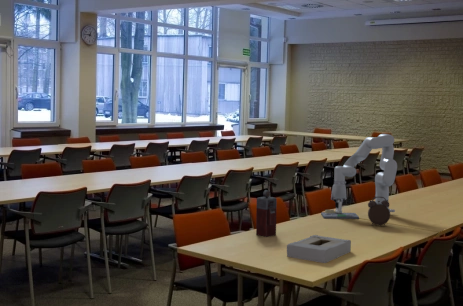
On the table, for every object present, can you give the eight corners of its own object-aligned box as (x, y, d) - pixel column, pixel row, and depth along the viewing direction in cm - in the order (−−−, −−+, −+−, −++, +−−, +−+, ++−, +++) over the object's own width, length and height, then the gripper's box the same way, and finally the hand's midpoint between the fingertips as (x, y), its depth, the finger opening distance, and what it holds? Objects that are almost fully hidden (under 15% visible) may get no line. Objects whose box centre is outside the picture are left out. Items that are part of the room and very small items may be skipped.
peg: (340, 212, 458) (340, 200, 457) (343, 213, 452) (343, 201, 451) (323, 212, 455) (324, 201, 454) (326, 214, 449) (327, 202, 448)
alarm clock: (388, 225, 419) (389, 196, 418) (390, 227, 412) (391, 197, 410) (366, 224, 421) (367, 195, 419) (368, 226, 413) (368, 197, 412)
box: (313, 246, 356) (286, 257, 330) (314, 233, 356) (286, 243, 330) (351, 253, 343) (325, 264, 317) (351, 239, 343) (326, 249, 316)
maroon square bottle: (269, 237, 377) (269, 192, 375) (255, 234, 385) (256, 190, 383) (278, 235, 383) (279, 190, 381) (265, 232, 391) (266, 188, 389)
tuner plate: (354, 214, 457) (355, 211, 457) (358, 218, 441) (358, 215, 441) (321, 214, 458) (321, 210, 458) (323, 218, 442) (323, 214, 442)
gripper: (347, 182, 458) (346, 206, 460) (327, 182, 454) (326, 207, 456) (351, 183, 451) (350, 208, 452) (331, 184, 447) (330, 209, 449)
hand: (338, 207), depth 454 cm, fingers closed on peg, 2 cm apart
